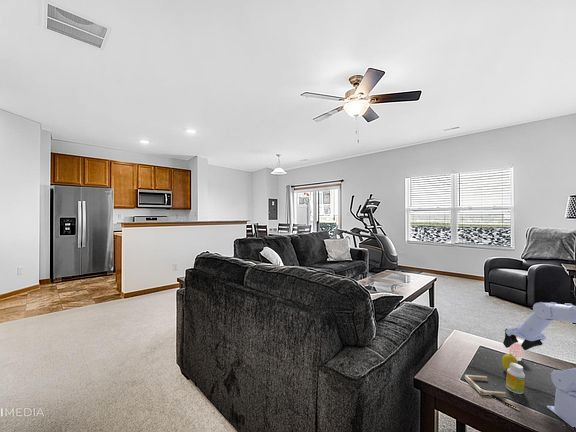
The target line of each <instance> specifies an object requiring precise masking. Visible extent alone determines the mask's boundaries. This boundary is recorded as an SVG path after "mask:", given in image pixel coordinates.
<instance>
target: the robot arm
mask: <svg viewBox="0 0 576 432" xmlns="http://www.w3.org/2000/svg"><path fill="white" fill-rule="evenodd" d="M554 320H556V321H560V322H568V323H574V324H576V305H574V304H572V303H566V302H565V303H564V304H561V303H557V302H553V301H550V302H543V301H540V302H535V303H534V304H533V306H532V312H531V313H530V314H529V316H527V318H526V319H525V320H524V321H523V322H522V323H521V324H517V327H516V326H515V327H513V328H505V329H504V340H503V343H502V344H503V345H504V347H505V348H506V349H509V347H510V346H511V345H512V344H514V343H516V342H518V340H517V339H516V336H518V338H521V339H524V340H523V341H524V342H523V343H522V345H521V346H522V348H523V351H528V350H530V349H532V348H534V347H538V346H539V347H540V346H543V344H544V343H543V342H544V341H545V340H546V339H547V337H546V336H545V334H544V333H542V332H543V331H544V330H545V329H546V328H547V327H548V326H549V325H550V324H551V323H552V322H553V321H554ZM542 341H543V342H542ZM550 379H551V381H552V384H553V385H554V388H555V396H554V405H546V407H547V409H549V410H550V411H551V412H552V413H554V414H555V415H557V416H558V417H559V418H560V419H561V420H563V421H564V422H565V423H567V424H568V425H569V426H570V427H572V428H574V427H575V428H574V429H576V367H573V368H568V369H564V370H561V369H560V370H559V369H555V370H552V371H551V373H550Z"/></svg>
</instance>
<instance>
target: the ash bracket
mask: <svg viewBox="0 0 576 432" xmlns="http://www.w3.org/2000/svg"><path fill="white" fill-rule="evenodd" d="M463 379H464V380H466V381H465V382H467V383H468V384H469V385H470V386H471V387H472V388H473V389H474V388H475V389H476V390H477V391H478V392H479V393H478V392H477V391H476V392H477V393H478V394H479V395H480V396H482V395H489V396H488V397H491V395H495V396H496V397H498V398H507V393H506V391H495V390H494V391H493V390H485V389H483V390H482V387H480V386H479V385H478V384H476V383H475V381H479V382H480V381H484V382H488V376H487V375H474V374H464V375H463ZM475 389H474V390H475Z"/></svg>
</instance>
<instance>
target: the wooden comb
mask: <svg viewBox="0 0 576 432" xmlns="http://www.w3.org/2000/svg"><path fill="white" fill-rule="evenodd" d="M481 389H482V388H481ZM482 390H484V389H482ZM491 396H492V397H491ZM491 396H490V397H491V398H493V399H495V398H496V400H497V401H498V400H499V402H500V401H501V402H500V403H502V402H503V403H502V404H504V403H505V404H504V405H506V404H508V405H510V406H513V407H515V408H518V407H517V406H516V405H514V404H512V403H510V402H508V401H506V400H504V399H502V398H501V397H496V396H495V395H491ZM518 409H520V408H518Z"/></svg>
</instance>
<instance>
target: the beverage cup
mask: <svg viewBox="0 0 576 432" xmlns="http://www.w3.org/2000/svg"><path fill="white" fill-rule="evenodd" d="M516 339H517V340H518V342H516V343H514V344H512V345H511V346H510V347H508V354H512V355H513V356H514V357H515V358H516V359H517V361H518V362H521V361H522V357H523V353H524V349H523V348H522V346H521V345H522V343H523V342H524V340H522V338H521V339H520V338H519V337H518V336H516Z"/></svg>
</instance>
